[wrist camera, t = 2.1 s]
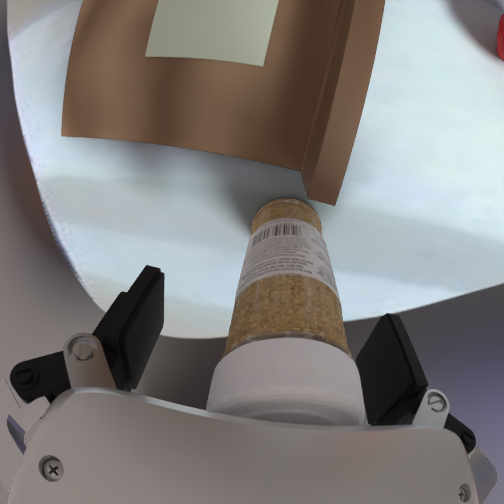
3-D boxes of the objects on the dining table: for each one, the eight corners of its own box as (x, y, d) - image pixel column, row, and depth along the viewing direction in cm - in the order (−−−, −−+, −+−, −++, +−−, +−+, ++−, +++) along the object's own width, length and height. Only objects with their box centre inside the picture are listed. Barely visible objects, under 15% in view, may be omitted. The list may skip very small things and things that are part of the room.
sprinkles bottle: (252, 259, 20) (214, 454, 8) (250, 194, 17) (185, 387, 6) (319, 260, 19) (346, 458, 7) (324, 196, 17) (390, 391, 5)
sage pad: (286, -31, 10) (286, -33, 9) (263, 66, 13) (263, 66, 13) (171, -36, 9) (170, -37, 9) (146, 56, 13) (145, 56, 13)
